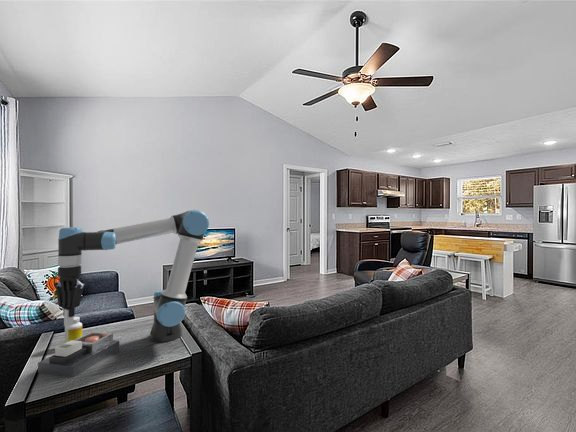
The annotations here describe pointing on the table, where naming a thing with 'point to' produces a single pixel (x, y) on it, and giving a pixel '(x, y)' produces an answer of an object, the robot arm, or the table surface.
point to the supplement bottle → (73, 330)
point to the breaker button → (92, 339)
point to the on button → (68, 348)
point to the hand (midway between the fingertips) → (68, 324)
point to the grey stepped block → (80, 356)
